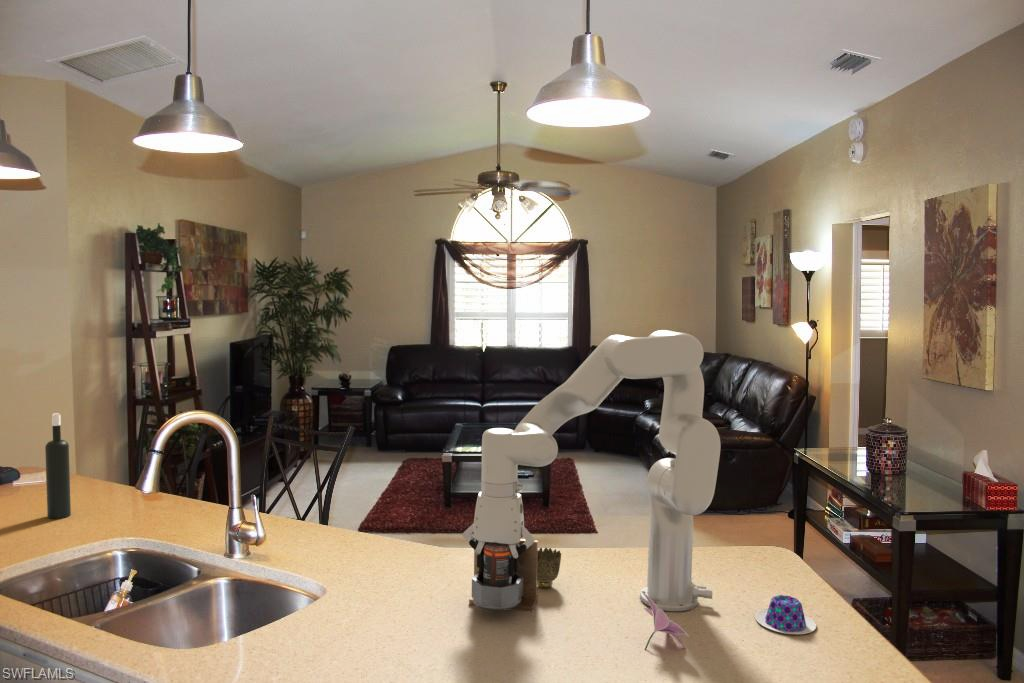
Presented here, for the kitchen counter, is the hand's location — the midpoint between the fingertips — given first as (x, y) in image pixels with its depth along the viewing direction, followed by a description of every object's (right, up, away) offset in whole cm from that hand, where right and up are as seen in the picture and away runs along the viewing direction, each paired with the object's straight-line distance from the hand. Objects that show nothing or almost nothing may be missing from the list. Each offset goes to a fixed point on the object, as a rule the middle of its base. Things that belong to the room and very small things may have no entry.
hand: (497, 571), depth 158 cm
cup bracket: (0, -9, +3) cm, 9 cm away
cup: (+10, -8, +16) cm, 21 cm away
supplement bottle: (0, -3, 0) cm, 3 cm away
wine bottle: (-128, -2, +60) cm, 141 cm away
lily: (+32, -11, -11) cm, 36 cm away
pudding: (+60, -11, -1) cm, 61 cm away
